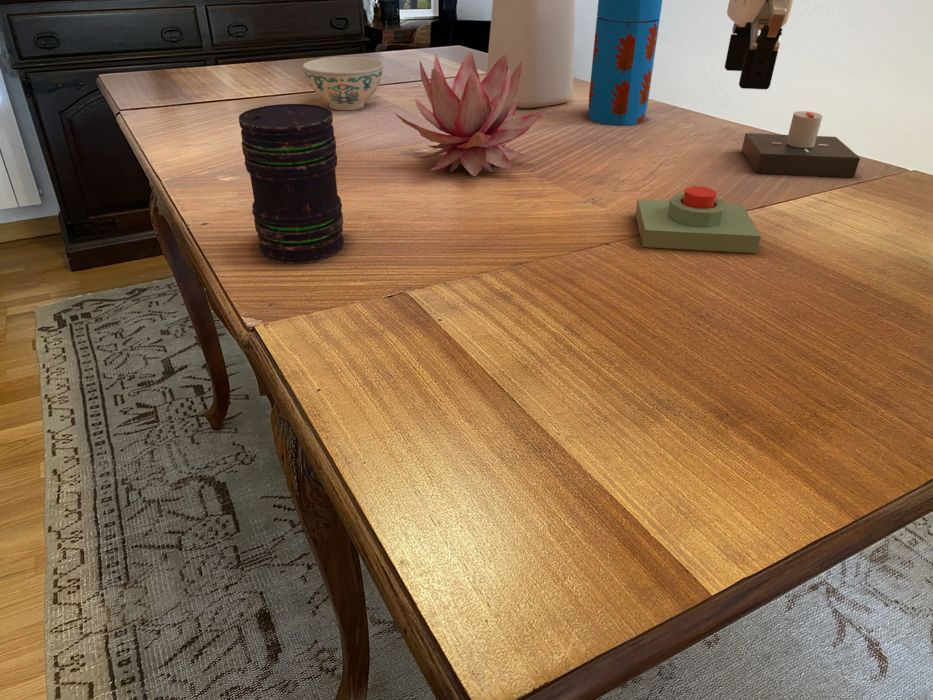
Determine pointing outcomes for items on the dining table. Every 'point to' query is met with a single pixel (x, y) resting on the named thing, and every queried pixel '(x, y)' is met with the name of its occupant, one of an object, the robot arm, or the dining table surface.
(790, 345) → the dining table surface
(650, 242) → the switch block
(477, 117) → the decorative flower
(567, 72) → the plastic bottle
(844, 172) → the dial base
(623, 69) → the thermos
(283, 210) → the dark brown cylinder
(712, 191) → the power button
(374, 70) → the chinaware
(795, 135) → the temp dial
